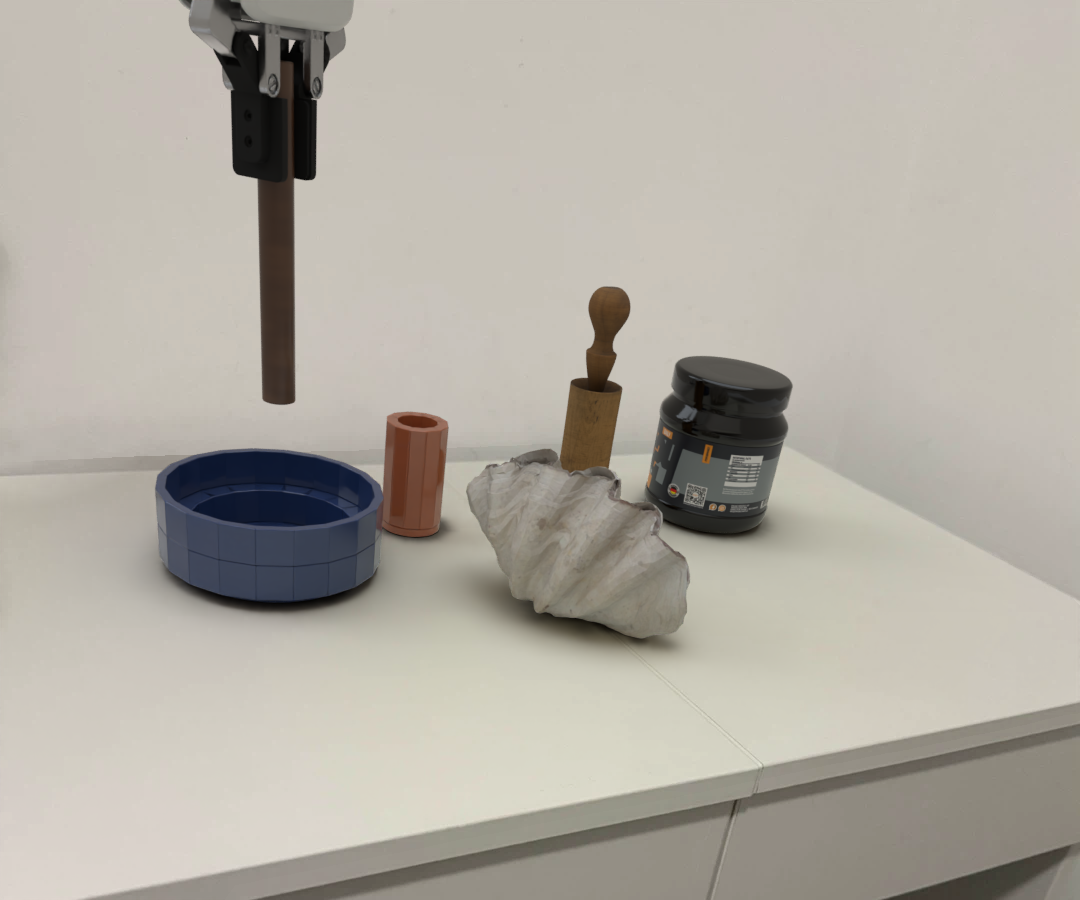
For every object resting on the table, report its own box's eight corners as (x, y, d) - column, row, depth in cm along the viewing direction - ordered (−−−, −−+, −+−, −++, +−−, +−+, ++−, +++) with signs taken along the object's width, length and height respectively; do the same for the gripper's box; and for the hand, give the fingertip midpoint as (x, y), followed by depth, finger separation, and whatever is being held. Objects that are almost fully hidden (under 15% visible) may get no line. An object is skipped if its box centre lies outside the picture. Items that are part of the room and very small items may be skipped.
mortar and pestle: (524, 528, 82) (557, 285, 73) (544, 502, 88) (576, 272, 78) (607, 547, 82) (651, 303, 72) (621, 519, 87) (664, 288, 77)
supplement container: (678, 481, 97) (706, 347, 90) (782, 518, 92) (820, 379, 86) (618, 507, 89) (645, 363, 83) (729, 549, 85) (766, 399, 78)
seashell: (557, 556, 79) (577, 424, 74) (693, 646, 69) (727, 502, 64) (440, 576, 73) (453, 435, 68) (571, 678, 64) (597, 523, 58)
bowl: (112, 570, 68) (105, 488, 65) (247, 506, 79) (246, 434, 76) (303, 634, 64) (304, 550, 61) (415, 557, 75) (421, 483, 72)
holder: (369, 526, 79) (375, 420, 75) (398, 509, 82) (405, 407, 78) (422, 542, 78) (430, 435, 74) (449, 524, 81) (458, 421, 77)
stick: (255, 400, 65) (246, 56, 55) (274, 393, 66) (269, 58, 57) (283, 407, 64) (279, 61, 55) (301, 400, 66) (301, 62, 56)
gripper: (299, -223, 57) (298, 162, 66) (82, -325, 44) (120, 171, 54) (424, -213, 55) (403, 183, 64) (234, -317, 42) (244, 196, 52)
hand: (274, 174), depth 59 cm, fingers closed on stick, 2 cm apart
